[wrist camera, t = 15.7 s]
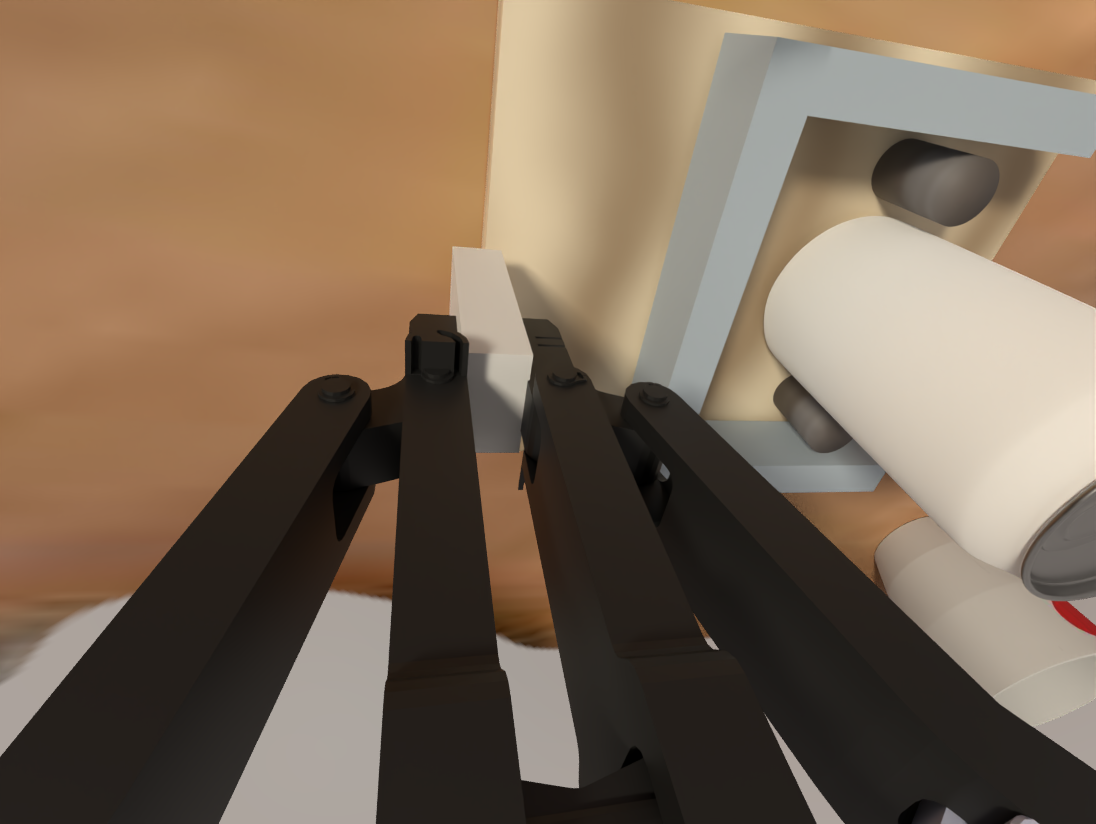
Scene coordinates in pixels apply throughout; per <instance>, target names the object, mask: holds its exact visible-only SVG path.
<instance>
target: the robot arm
mask: <svg viewBox="0 0 1096 824" xmlns="http://www.w3.org/2000/svg"><path fill="white" fill-rule="evenodd" d="M521 436H522V440H523V444H524V453H523V459H522V466H521V472H520V479H519V487H518V490H523V485H524V483H525V484H526V489H527V494H528V499H529V504H530V509H531V514H532V519H533V524H534V529H535V534H536V539H537V544H538V549H539V554H540V559H541V564H542V569H543V574H544V579H545V584H546V589H547V593H548V598H549V603H550V608H551V613H552V618H553V623H554V628H555V633H556V638H557V643H558V648H559V653H560V658H561V663H562V668H563V672H564V678H565V683H566V688H567V692H568V697H569V702H570V708H571V713H572V718H573V722H574V727H575V732H576V737H577V743H578V749H579V788H566V787H560V786H554V785H548V784H541V783H535V782H529V781H523V780H521V776H520V769H519V760H518V752H517V744H516V736H515V728H514V720H513V712H512V704H511V696H510V689H509V683H508V679H507V675H506V672H505V671H504V670H502V669H501V667H500V664H499V657H498V649H497V640H496V631H495V622H494V613H493V604H492V595H491V586H490V577H489V568H488V559H487V551H486V542H485V533H484V524H483V515H482V506H481V497H480V488H479V479H478V470H477V461H476V453H519V450H520V443H521ZM662 464H664V465H665V467H666V468H667V469H668V471H669V472H670V475H669V477H668V479H666V478H665V477H664V476H663V475H662V473H661V472H660V470H661V467H662ZM398 478H399V491H398V508H397V526H396V543H395V560H394V578H393V595H392V612H391V613H392V614H391V630H390V647H389V665H388V676H387V680H386V683H385V691H384V703H383V718H382V735H381V750H380V766H379V782H378V799H377V815H376V824H816V821H815V819H814V817H813V815H812V813H811V811H810V809H809V807H808V805H807V802H806V800H805V798H804V796H803V794H802V792H801V790H800V788H799V786H798V784H797V781H796V779H795V777H794V776H793V773H792V771H791V769H790V767H789V765H788V763H787V760H786V759H785V756H784V754H783V752H782V750H781V748H780V746H779V744H778V741H777V740H776V737H775V735H774V733H773V731H772V729H771V727H770V725H769V723H768V721H767V718H768V719H769V721H770V722H771V723H772V725H773V726H774V728H775V729H776V730H777V732H778V733H779V735H780V736H781V737H782V739H783V740H784V742H785V743H786V745H787V746H788V747H789V749H790V750H791V752H792V753H793V754H794V756H795V757H796V759H797V760H798V762H799V763H800V764H801V766H802V767H803V769H804V770H805V771H806V773H807V774H808V776H809V777H810V779H811V780H812V781H813V783H814V784H815V785H816V787H817V788H818V790H819V791H820V792H821V793H822V795H823V796H824V797H825V799H826V800H827V801H828V803H829V804H830V805H831V807H832V808H833V809H834V810H835V812H836V813H837V814H838V816H839V817H840V818H841V820H842V821H843V822H844V823H845V824H1096V770H1094V769H1093V768H1091V767H1090V766H1088V765H1087V764H1085V763H1084V762H1083V761H1081V760H1080V759H1078V758H1077V757H1075V756H1074V755H1072V754H1071V753H1070V752H1068V751H1067V750H1065V749H1064V748H1062V747H1061V746H1059V745H1058V744H1057V743H1055V742H1054V741H1052V740H1051V739H1049V738H1048V737H1046V736H1045V735H1043V734H1042V733H1041V732H1039V731H1038V730H1036V729H1035V728H1033V727H1032V726H1031V725H1029V724H1028V723H1026V722H1025V721H1023V720H1022V719H1020V718H1019V717H1018V716H1016V715H1015V714H1013V713H1012V712H1010V711H1009V710H1007V709H1006V708H1005V707H1003V706H1002V705H1000V704H999V703H998V702H997V701H996V700H995V699H994V698H993V697H992V696H991V695H990V694H989V693H988V692H987V691H986V690H984V689H983V688H982V687H981V686H980V685H979V684H978V683H977V682H976V681H975V680H974V679H973V678H972V677H971V676H970V675H969V674H968V673H967V672H966V671H965V670H964V669H963V668H962V667H961V666H960V665H958V664H957V663H956V662H955V661H954V660H953V659H952V658H951V657H950V656H949V655H948V654H947V653H946V652H945V651H944V650H943V649H942V648H941V647H940V646H939V645H938V644H937V643H936V642H935V641H933V640H932V639H931V638H930V637H929V636H928V635H927V634H926V633H925V632H924V631H923V630H922V629H921V628H920V627H919V626H918V625H917V624H916V623H915V622H914V621H913V620H912V619H911V618H910V617H909V616H907V615H906V614H905V613H904V612H903V611H902V610H901V609H900V608H899V607H898V606H897V605H896V604H895V603H894V602H893V601H892V600H891V599H890V598H889V597H888V596H887V595H886V594H885V593H884V592H883V591H881V590H880V589H879V588H878V587H877V586H876V585H875V584H874V583H873V582H872V581H871V580H870V579H869V578H868V577H867V576H866V575H865V574H864V573H863V572H862V571H861V570H860V569H859V568H858V567H857V566H855V565H854V564H853V563H852V562H851V561H850V560H849V559H848V558H847V557H846V556H845V555H844V554H843V553H842V552H841V551H840V550H839V549H838V548H837V547H836V546H835V545H834V544H833V543H832V542H831V541H829V540H828V539H827V538H826V537H825V536H824V535H823V534H822V533H821V532H820V531H819V530H818V529H817V528H816V527H815V526H814V525H813V524H812V523H811V522H810V521H809V520H808V519H807V518H806V517H805V516H803V515H802V514H801V513H800V512H799V511H798V510H797V509H796V508H795V507H794V506H793V505H792V504H791V503H790V502H789V501H788V500H787V499H786V498H785V497H784V496H783V495H782V494H781V493H780V492H778V491H777V490H776V489H775V488H774V487H773V486H772V485H771V484H770V483H769V482H768V481H767V480H766V479H765V478H764V477H763V476H762V475H761V474H760V473H759V472H758V471H757V470H756V469H755V468H754V467H752V466H751V465H750V464H749V463H748V462H747V461H746V460H745V459H744V458H743V457H742V456H741V455H740V454H739V453H738V452H737V451H736V450H735V449H734V448H733V447H732V446H731V445H730V444H729V443H728V442H726V441H725V440H724V439H723V438H722V437H721V436H720V435H719V434H718V433H717V432H716V431H715V430H714V429H713V428H712V427H711V426H710V425H709V424H708V423H707V422H706V421H705V420H704V419H703V418H702V417H700V416H699V415H698V414H697V413H696V412H695V411H694V410H693V409H692V408H691V407H690V406H689V405H688V404H687V403H686V402H685V401H684V400H683V399H682V398H681V397H680V396H679V395H678V394H676V393H675V392H673V391H672V390H671V389H669V388H667V387H664V386H662V385H661V384H658V383H653V382H637V383H633V384H630V385H629V386H628V387H627V388H626V391H625V394H624V397H622V396H618V395H613V394H609V393H605V392H601V391H598V390H596V389H595V387H594V385H593V383H592V381H591V379H590V378H589V376H588V375H587V374H586V373H584V372H583V371H581V370H580V369H578V368H575V367H574V366H573V364H572V361H571V359H570V356H569V354H568V351H567V349H566V347H565V344H564V342H563V340H562V337H561V334H560V332H559V329H558V328H557V327H556V326H555V325H554V324H552V323H551V322H550V321H549V320H548V319H532V318H522V317H521V314H520V310H519V307H518V304H517V300H516V297H515V294H514V291H513V287H512V284H511V281H510V277H509V274H508V271H507V268H506V264H505V261H504V258H503V254H502V251H501V250H491V249H479V248H467V247H455V246H453V248H452V271H451V293H450V315H433V314H418V315H416V316H415V317H414V318H413V319H412V320H411V321H410V327H409V334H408V336H407V338H406V340H405V377H404V378H403V379H402V380H401V381H399V382H398V383H396V384H394V385H392V386H390V387H386V388H382V389H378V390H371V389H370V387H369V385H368V384H367V383H366V382H364V381H363V380H361V379H360V378H357V377H353V376H349V375H339V374H336V375H327V376H322V377H320V378H317V379H314V380H312V381H310V382H309V383H307V384H306V385H305V386H304V387H303V388H302V389H301V390H300V391H299V393H298V394H297V395H296V396H295V397H294V399H293V400H292V401H291V402H290V404H289V405H288V406H287V407H286V408H285V410H284V411H283V412H282V413H281V415H280V416H279V417H278V418H277V419H276V421H275V422H274V423H273V424H272V426H271V427H270V428H269V429H268V430H267V432H266V433H265V434H264V435H263V437H262V438H261V439H260V440H259V441H258V443H257V444H256V445H255V446H254V448H253V449H252V450H251V451H250V452H249V454H248V455H247V456H246V457H245V459H244V460H243V461H242V462H241V463H240V465H239V466H238V467H237V468H236V470H235V471H234V472H233V473H232V474H231V476H230V477H229V478H228V479H227V481H226V482H225V483H224V484H223V485H222V487H221V488H220V489H219V490H218V492H217V493H216V494H215V495H214V496H213V498H212V499H211V500H210V501H209V503H208V504H207V505H206V506H205V507H204V509H203V510H202V511H201V512H200V514H199V515H198V516H197V517H196V518H195V520H194V521H193V522H192V523H191V525H190V526H189V527H188V528H187V529H186V531H185V532H184V533H183V534H182V536H181V537H180V538H179V539H178V540H177V542H176V543H175V544H174V545H173V547H172V548H171V549H170V550H169V551H168V553H167V554H166V555H165V556H164V558H163V559H162V560H161V561H160V562H159V564H158V565H157V566H156V567H155V569H154V570H153V571H152V572H151V573H150V575H149V576H148V577H147V578H146V580H145V581H144V582H143V583H142V584H141V586H140V587H139V588H138V589H137V590H136V592H135V593H134V594H133V595H132V597H131V598H130V599H129V600H128V601H127V603H126V604H125V605H124V606H123V608H122V609H121V610H120V611H119V612H118V614H117V615H116V616H115V617H114V619H113V620H112V621H111V622H110V624H109V625H108V626H107V627H106V628H105V630H104V631H103V632H102V633H101V634H100V636H99V637H98V638H97V639H96V641H95V642H94V643H93V644H92V645H91V647H90V648H89V649H88V650H87V652H86V653H85V654H84V655H83V656H82V658H81V659H80V660H79V661H78V663H77V664H76V665H75V666H74V667H73V669H72V670H71V671H70V672H69V674H68V675H67V676H66V677H65V678H64V680H63V681H62V682H61V684H60V685H59V686H58V687H57V688H56V689H55V691H54V692H53V693H52V694H51V696H50V697H49V698H48V700H46V702H45V703H44V704H43V705H42V707H41V708H40V709H39V711H38V712H37V713H36V714H35V715H34V716H33V718H32V719H31V720H30V721H29V723H28V724H27V725H26V726H25V727H24V729H23V730H22V731H21V732H20V733H19V735H18V736H17V737H16V738H15V740H14V741H13V742H12V743H11V744H10V746H9V747H8V748H7V749H6V751H5V752H4V753H3V754H2V755H1V757H0V824H219V822H220V820H221V817H222V815H223V813H224V811H225V809H226V807H227V805H228V803H229V800H230V798H231V796H232V794H233V792H234V790H235V788H236V786H237V784H238V781H239V779H240V777H241V775H242V773H243V771H244V768H245V766H246V764H247V762H248V760H249V758H250V756H251V754H252V752H253V750H254V747H255V745H256V743H257V741H258V739H259V737H260V735H261V732H262V730H263V728H264V726H265V724H266V722H267V720H268V718H269V716H270V713H271V711H272V709H273V707H274V705H275V703H276V700H277V699H278V696H279V694H280V692H281V690H282V688H283V686H284V684H285V682H286V679H287V677H288V675H289V673H290V671H291V669H292V667H293V664H294V662H295V660H296V658H297V656H298V654H299V652H300V650H301V647H302V645H303V643H304V641H305V639H306V637H307V634H308V633H309V630H310V628H311V626H312V624H313V622H314V620H315V618H316V615H317V613H318V611H319V609H320V607H321V605H322V603H323V601H324V599H325V597H326V594H327V592H328V590H329V588H330V586H331V584H332V582H333V580H334V577H335V575H336V573H337V571H338V569H339V567H340V565H341V563H342V560H343V558H344V556H345V554H346V552H347V550H348V548H349V546H350V543H351V541H352V539H353V537H354V535H355V533H356V531H357V529H358V526H359V524H360V522H361V520H362V518H363V516H364V514H365V512H366V509H367V507H368V505H369V503H370V501H371V499H372V497H373V495H374V491H375V484H378V483H382V482H386V481H390V480H394V479H398ZM693 613H694V614H695V616H696V617H697V619H698V620H699V621H700V623H701V624H702V626H703V627H704V629H705V630H706V631H707V633H708V634H709V636H710V637H711V638H712V640H713V641H714V643H715V644H716V646H717V647H718V648H719V650H714V649H712V648H711V647H710V646H709V645H708V644H707V642H706V640H705V639H704V637H703V635H702V633H701V630H700V628H699V626H698V623H697V621H696V619H695V616H694V614H693ZM764 713H765V714H764ZM765 715H766V716H767V718H766V716H765Z"/></svg>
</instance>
